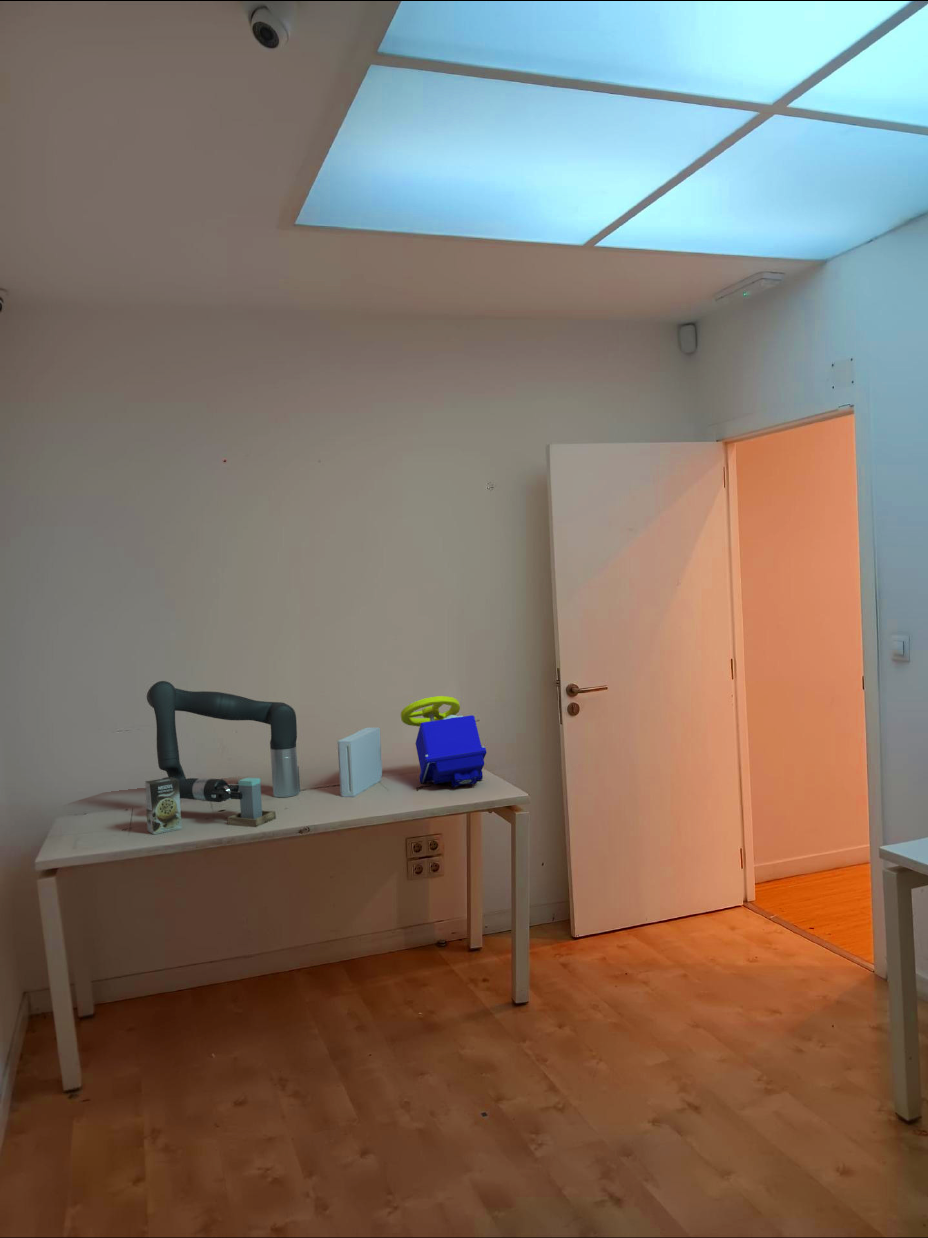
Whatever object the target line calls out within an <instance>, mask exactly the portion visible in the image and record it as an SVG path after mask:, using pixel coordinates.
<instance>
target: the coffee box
mask: <svg viewBox="0 0 928 1238" xmlns="http://www.w3.org/2000/svg"><path fill="white" fill-rule="evenodd" d="M163 778H164V779H162V778H159V779H158V778H157V779H152V780H145V782H144V785H145V799H146V800H145V802H146V804H145V805H146V819H147V821H146V822H147V831H148V832H149V833H151V834H152V835H159V834H163V832H164V833H168V832H173V831H179V830H182V817H181V799H180V794H179V780H178V779H176V778H173V777H170V778H165V777H163Z"/></svg>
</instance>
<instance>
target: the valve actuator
mask: <svg viewBox="0 0 928 1238" xmlns="http://www.w3.org/2000/svg"><path fill="white" fill-rule="evenodd" d="M443 705H447V706H450V708H449V709H448V710H446V711H445V712H440V709H439V708H441V707H442V706H443ZM418 710H419V711H418ZM460 710H461V705H460V701H459V700H458V699H457V698H455V697H452V696H446V695H436V696H431V697H425V698H422V699H419V700H416V701H413V702H412V703H410V704H408V705H407V706H405V707H404V708H403V709H402V710H401V713H400V719H401V721H402V723H403V724H405V725H407V726H412V727H419V728H418V731H417V732H418V733H417V737H416V739H415V746H416V747H415V748H416V753H417V758H418V763H419V767H420V775H419V777H418V778H419V779H418V780H419V783H420V784H425V783H429V782H430V781H431V782H433V784H434V785H437V784H445V783H449V782H450V783H451V787H452V788H453V789H454V788H457V787H459V786H465V785H475V784H477V781H483V778H484V777H483V776H484V775H483V768H484V766H485V757H486V756H487V753H488V752H487V749H486V747H485V746H484V745H482V743H481V739H480V734H479V730H478V726H477V723H476V719H475V718H476V717H475V716H474V715H472V714H470V715H466V716H465V715H464V716H463V714H462V715H461V714H460V715H459V716H458V715H457V714H458V713H459V712H460ZM421 716H422V717H423V718H422V717H421ZM424 782H425V783H424Z"/></svg>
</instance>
